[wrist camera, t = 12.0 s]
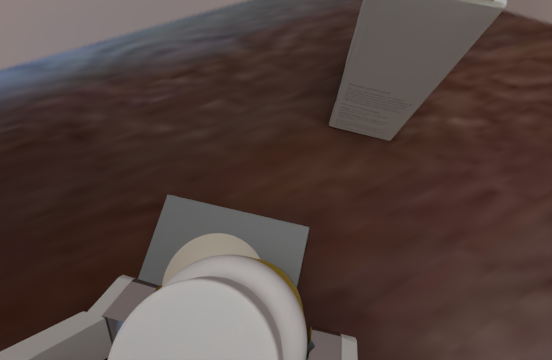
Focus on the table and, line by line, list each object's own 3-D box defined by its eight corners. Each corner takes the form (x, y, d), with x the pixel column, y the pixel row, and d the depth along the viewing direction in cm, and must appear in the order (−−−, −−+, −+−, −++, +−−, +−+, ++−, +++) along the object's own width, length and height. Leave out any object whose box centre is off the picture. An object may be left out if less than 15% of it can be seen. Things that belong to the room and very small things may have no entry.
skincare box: (346, 56, 28) (398, -154, 14) (409, 69, 28) (530, -142, 13) (326, 132, 26) (364, -29, 12) (394, 147, 25) (520, -5, 11)
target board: (121, 347, 22) (110, 352, 21) (173, 197, 25) (166, 193, 24) (274, 394, 21) (272, 403, 19) (308, 229, 24) (309, 226, 22)
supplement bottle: (249, 238, 17) (195, 203, 7) (322, 305, 16) (369, 364, 6) (181, 315, 16) (22, 385, 6) (255, 393, 15) (189, 619, 5)
